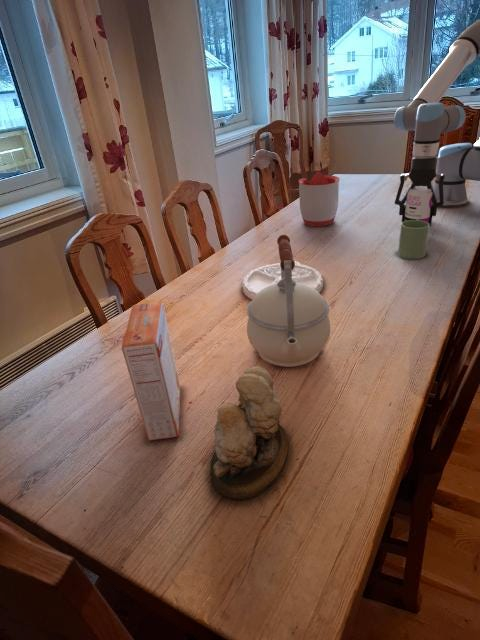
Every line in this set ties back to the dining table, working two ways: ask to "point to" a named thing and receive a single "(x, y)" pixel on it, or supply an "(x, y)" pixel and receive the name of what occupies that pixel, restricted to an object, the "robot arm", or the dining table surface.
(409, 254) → the green cup
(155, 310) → the cracker box
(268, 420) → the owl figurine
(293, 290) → the kettle
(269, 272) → the divided serving plate
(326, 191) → the citrus juicer
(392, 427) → the dining table surface
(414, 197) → the supplement can
